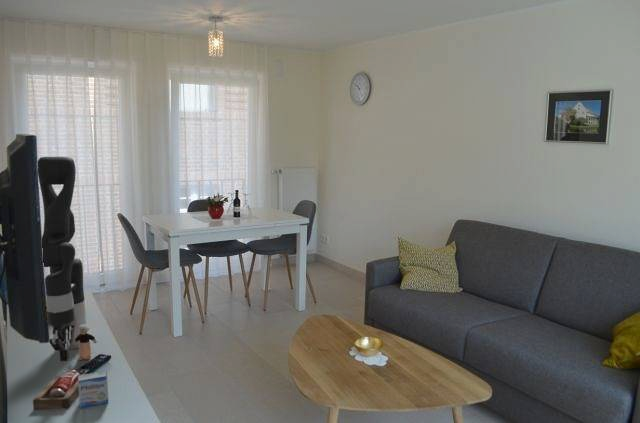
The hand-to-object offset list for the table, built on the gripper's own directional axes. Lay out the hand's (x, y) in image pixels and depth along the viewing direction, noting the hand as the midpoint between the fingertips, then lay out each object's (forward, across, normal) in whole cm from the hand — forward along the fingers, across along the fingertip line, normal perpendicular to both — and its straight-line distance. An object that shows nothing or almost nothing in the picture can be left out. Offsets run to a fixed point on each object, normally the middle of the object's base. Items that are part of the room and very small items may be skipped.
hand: (64, 360), depth 160 cm
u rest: (+10, +4, 0) cm, 11 cm away
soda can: (+7, -4, 0) cm, 8 cm away
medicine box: (+10, +8, +11) cm, 17 cm away
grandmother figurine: (+10, -23, -3) cm, 25 cm away
